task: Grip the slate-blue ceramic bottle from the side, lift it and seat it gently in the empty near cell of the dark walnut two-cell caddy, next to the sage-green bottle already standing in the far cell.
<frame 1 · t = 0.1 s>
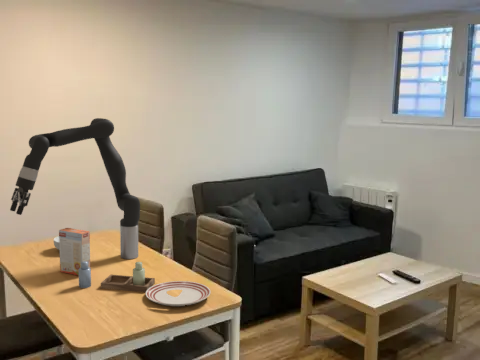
hand: (15, 212, 226), 31 cm above the table, tool tilted 20°, fingers open, 8 cm apart
blue bottle: (85, 286, 226), on the table
dinner plate: (178, 298, 216), on the table
cracker box: (75, 273, 243), on the table
caddy: (128, 286, 227), on the table
cereal bowl: (70, 250, 277), on the table
green bottle: (138, 286, 226), point 1 cm above the table, touching caddy
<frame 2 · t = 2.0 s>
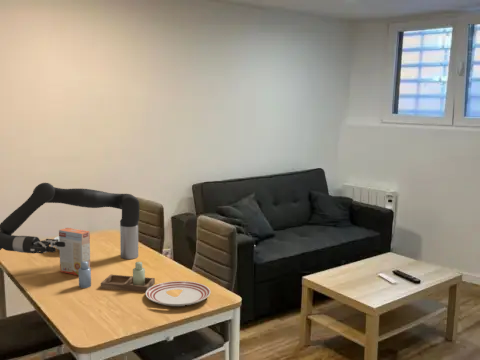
hand: (60, 247, 225), 17 cm above the table, tool horizontal, fingers open, 8 cm apart
nothing on the table moved.
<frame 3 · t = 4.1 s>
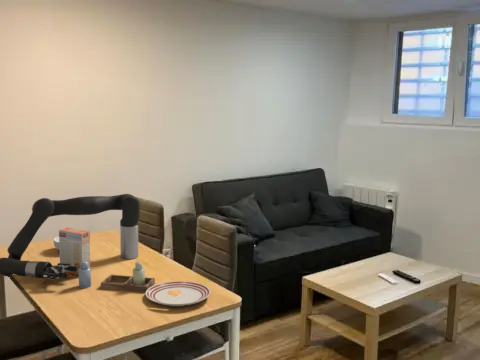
hand: (72, 272, 226), 6 cm above the table, tool horizontal, fingers open, 8 cm apart
nothing on the table moved.
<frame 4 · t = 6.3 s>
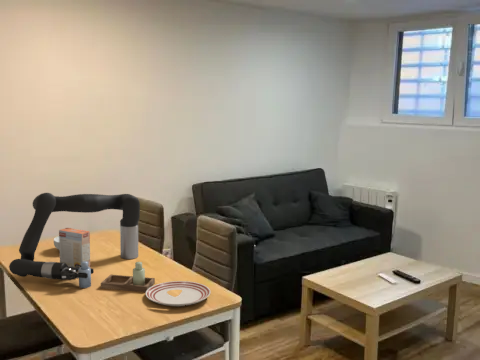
hand: (90, 273, 225), 6 cm above the table, tool horizontal, fingers closed on blue bottle, 5 cm apart
blue bottle: (85, 285, 226), on the table, touching gripper
everything else where it was.
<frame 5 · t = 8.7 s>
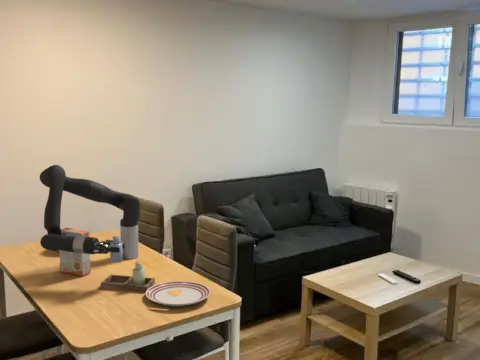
hand: (121, 248, 224), 18 cm above the table, tool horizontal, fingers closed on blue bottle, 5 cm apart
blue bottle: (116, 260, 225), point 12 cm above the table, touching gripper
everything else where it was.
when the fingers open (8 cm above the table, at t = 11.1 s): blue bottle drops 1 cm, resting on caddy.
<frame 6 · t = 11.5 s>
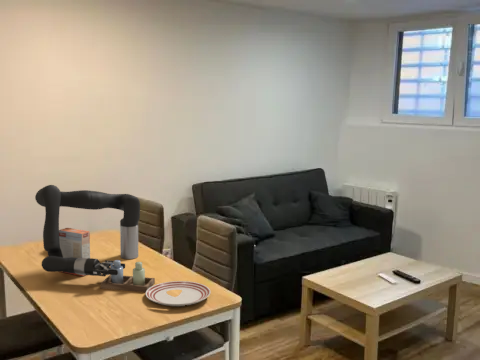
hand: (121, 269, 226), 8 cm above the table, tool horizontal, fingers open, 8 cm apart
blue bottle: (117, 284, 227), point 1 cm above the table, touching caddy
everything else where it was.
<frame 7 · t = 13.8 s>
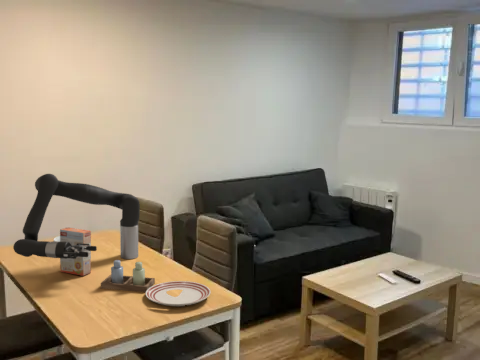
hand: (92, 251, 228), 15 cm above the table, tool horizontal, fingers open, 8 cm apart
nothing on the table moved.
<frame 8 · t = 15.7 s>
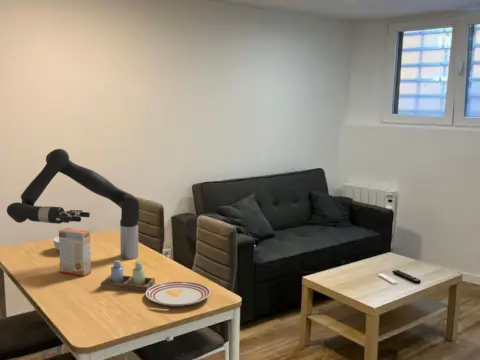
hand: (85, 217, 228), 30 cm above the table, tool horizontal, fingers open, 8 cm apart
at the end: blue bottle inside the target area on the caddy (0.1 cm from its centre), point 0.6 cm above the caddy's base; blue bottle tilted 0°; the gripper is holding nothing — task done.
